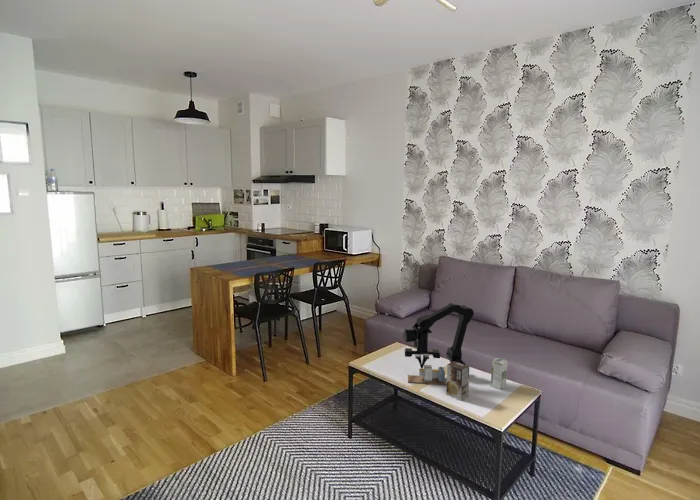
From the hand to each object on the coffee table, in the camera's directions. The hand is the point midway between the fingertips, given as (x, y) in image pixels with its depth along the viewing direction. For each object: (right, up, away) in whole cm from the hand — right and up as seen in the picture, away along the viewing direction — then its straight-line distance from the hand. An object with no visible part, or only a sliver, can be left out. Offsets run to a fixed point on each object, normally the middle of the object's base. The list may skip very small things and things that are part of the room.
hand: (421, 368), depth 228 cm
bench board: (+2, -6, -2) cm, 7 cm away
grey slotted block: (+3, -6, -2) cm, 7 cm away
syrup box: (+39, -8, -8) cm, 40 cm away
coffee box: (+15, -9, -18) cm, 25 cm away
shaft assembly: (+5, -5, -3) cm, 8 cm away
